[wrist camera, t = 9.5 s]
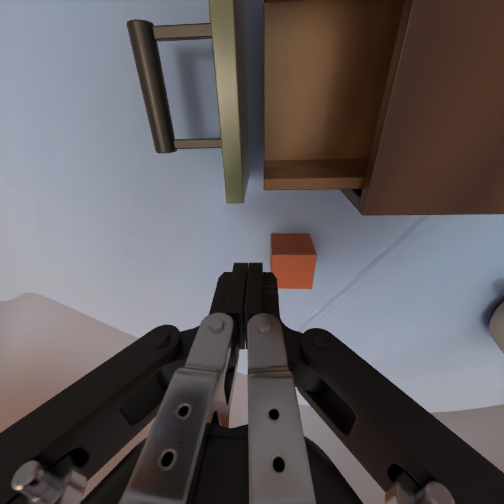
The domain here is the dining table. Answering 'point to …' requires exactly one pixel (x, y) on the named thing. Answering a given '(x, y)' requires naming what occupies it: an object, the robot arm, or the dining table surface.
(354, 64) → the drawer
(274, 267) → the block
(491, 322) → the teacup
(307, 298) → the dining table surface
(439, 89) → the cabinet
